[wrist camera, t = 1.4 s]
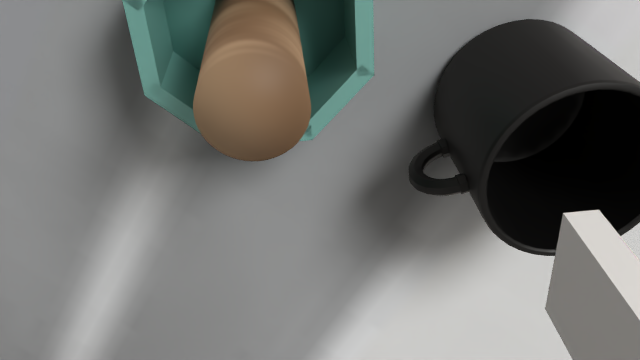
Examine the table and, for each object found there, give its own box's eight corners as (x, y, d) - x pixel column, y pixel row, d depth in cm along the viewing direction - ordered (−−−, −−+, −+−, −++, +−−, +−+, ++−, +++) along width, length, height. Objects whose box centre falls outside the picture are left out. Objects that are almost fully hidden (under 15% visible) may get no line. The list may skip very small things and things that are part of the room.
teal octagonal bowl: (172, 106, 34) (158, 154, 30) (129, -100, 29) (103, -81, 24) (359, 89, 35) (375, 134, 30) (353, -118, 29) (371, -101, 24)
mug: (370, 68, 34) (402, 146, 26) (582, -9, 33) (680, 49, 25) (412, 197, 39) (449, 295, 31) (598, 135, 38) (684, 221, 30)
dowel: (221, 49, 32) (203, 165, 22) (209, -30, 30) (183, 59, 20) (297, 42, 32) (314, 155, 22) (291, -36, 30) (306, 48, 20)
